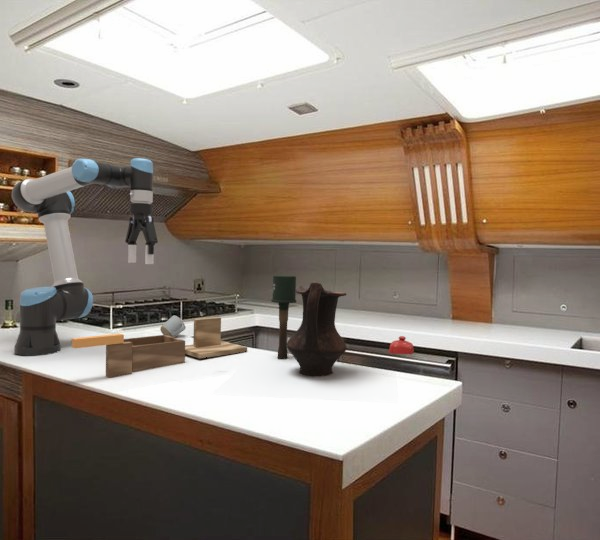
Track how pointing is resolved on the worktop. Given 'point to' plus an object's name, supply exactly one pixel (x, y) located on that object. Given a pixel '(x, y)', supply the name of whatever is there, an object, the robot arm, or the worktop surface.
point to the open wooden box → (143, 354)
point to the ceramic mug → (173, 326)
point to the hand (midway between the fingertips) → (140, 263)
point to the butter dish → (401, 346)
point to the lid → (210, 340)
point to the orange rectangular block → (97, 340)
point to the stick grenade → (283, 307)
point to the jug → (317, 332)
